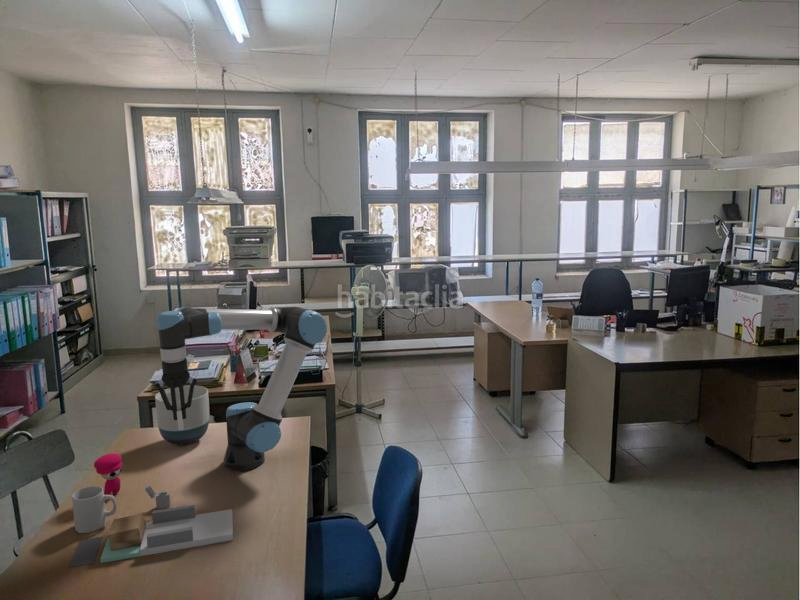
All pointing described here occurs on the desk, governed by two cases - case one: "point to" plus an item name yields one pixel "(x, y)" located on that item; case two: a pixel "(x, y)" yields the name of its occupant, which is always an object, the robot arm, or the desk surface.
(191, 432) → the planter
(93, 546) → the mat
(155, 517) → the plate
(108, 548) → the tile
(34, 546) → the desk surface
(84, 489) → the mug
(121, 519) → the block
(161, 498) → the lighter
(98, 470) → the toy
